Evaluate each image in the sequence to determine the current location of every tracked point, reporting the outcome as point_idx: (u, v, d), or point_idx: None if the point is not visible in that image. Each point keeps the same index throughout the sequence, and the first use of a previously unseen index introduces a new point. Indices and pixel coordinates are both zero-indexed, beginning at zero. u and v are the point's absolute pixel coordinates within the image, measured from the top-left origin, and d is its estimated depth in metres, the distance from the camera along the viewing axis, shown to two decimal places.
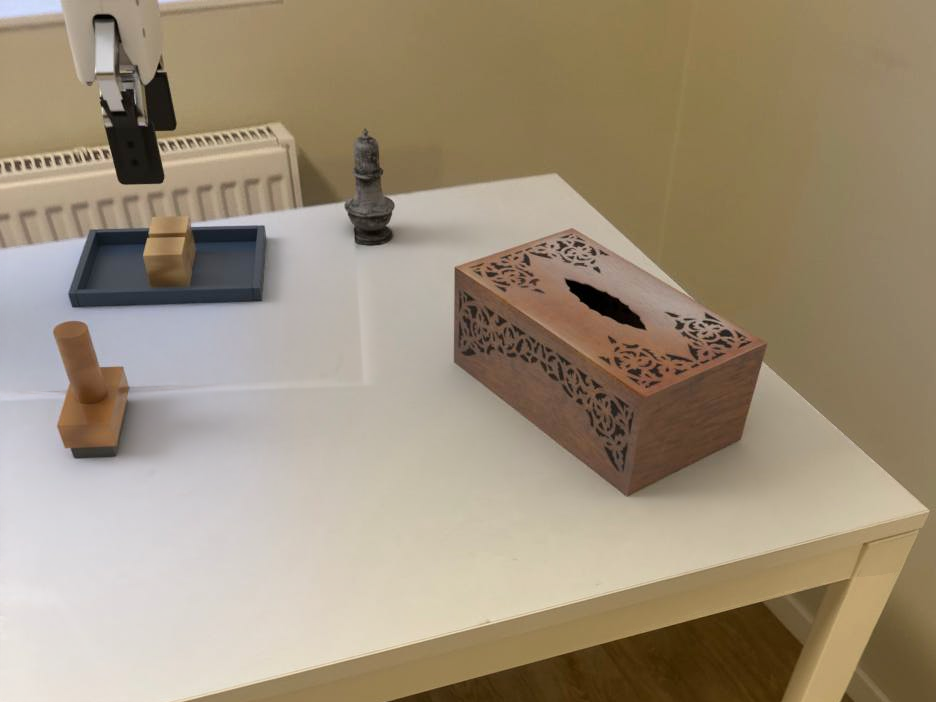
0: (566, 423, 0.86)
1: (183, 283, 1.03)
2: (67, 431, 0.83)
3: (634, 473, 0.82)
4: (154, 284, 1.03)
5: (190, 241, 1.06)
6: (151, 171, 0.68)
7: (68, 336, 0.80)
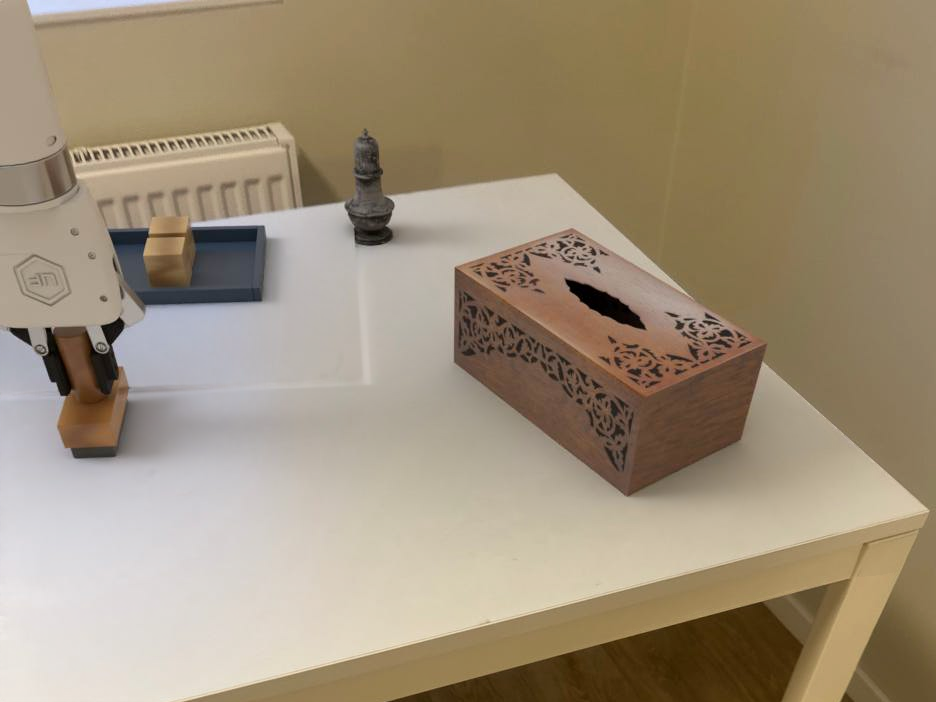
0: (566, 423, 0.86)
1: (183, 283, 1.03)
2: (67, 431, 0.83)
3: (634, 473, 0.82)
4: (154, 284, 1.03)
5: (190, 241, 1.06)
6: None
7: (67, 336, 0.80)
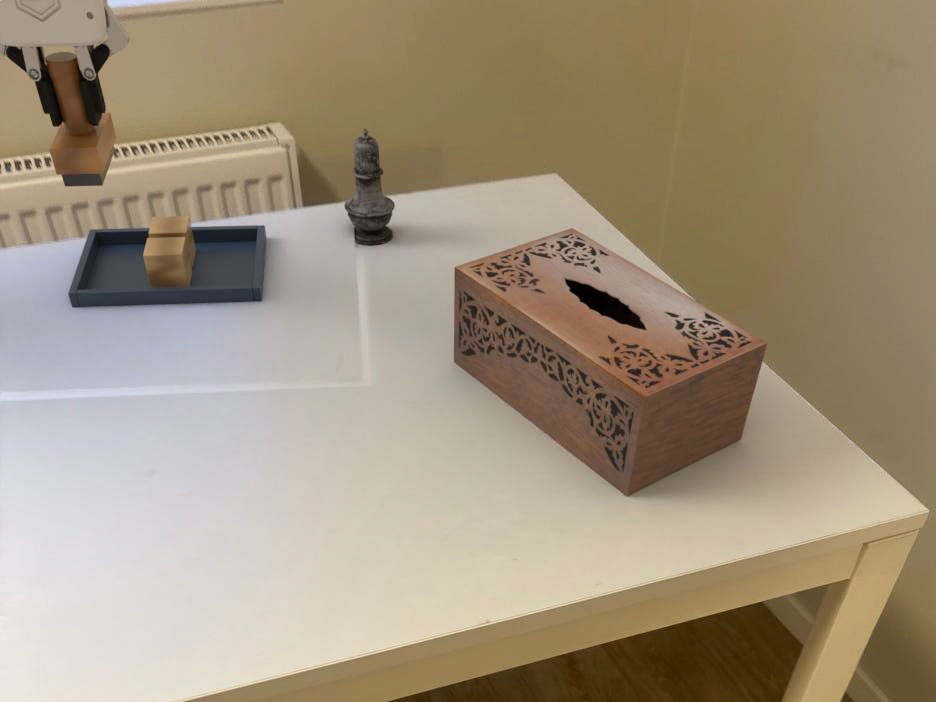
0: (566, 423, 0.86)
1: (183, 283, 1.03)
2: (58, 155, 0.92)
3: (634, 473, 0.82)
4: (154, 284, 1.03)
5: (190, 241, 1.06)
6: None
7: (58, 61, 0.89)
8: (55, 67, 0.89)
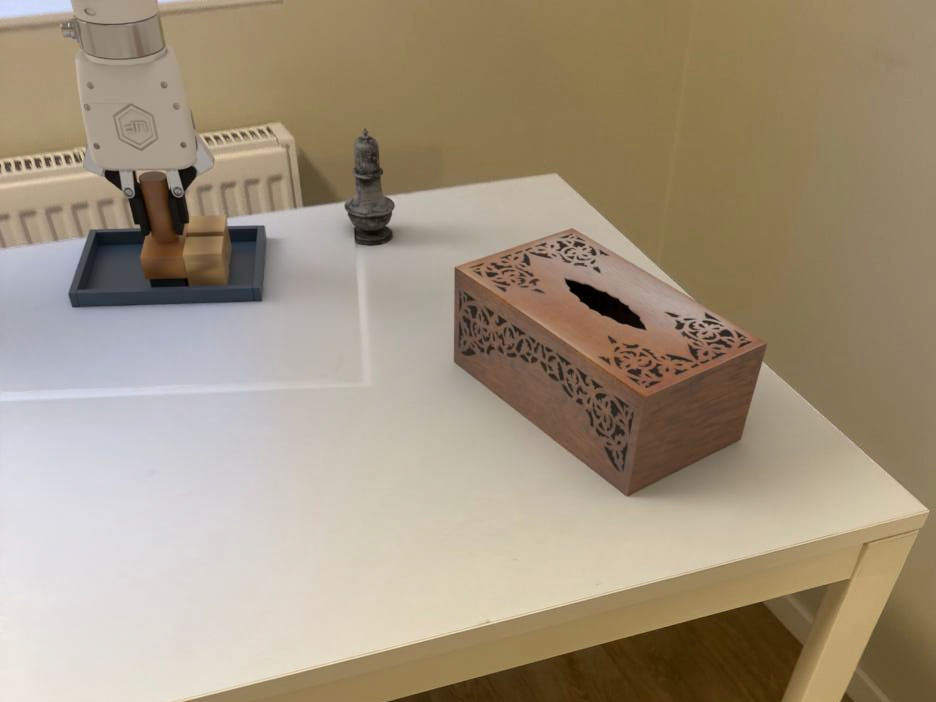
0: (566, 423, 0.86)
1: (221, 282, 1.03)
2: (148, 263, 1.01)
3: (634, 473, 0.82)
4: (192, 283, 1.03)
5: (227, 240, 1.07)
6: None
7: (151, 181, 0.98)
8: (148, 186, 0.98)
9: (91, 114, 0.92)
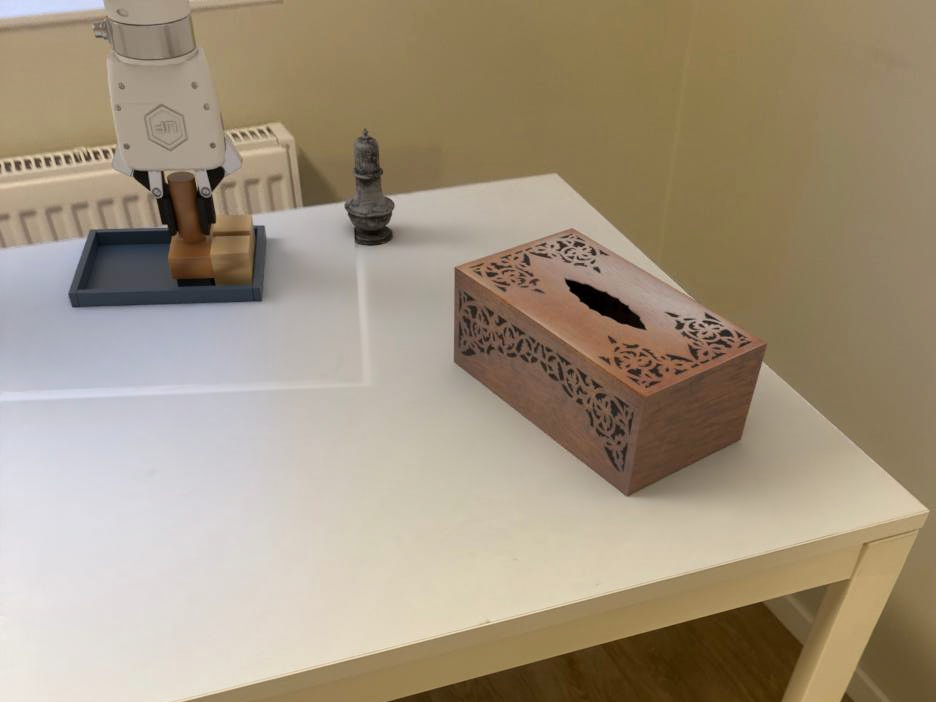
0: (566, 423, 0.86)
1: (248, 282, 1.04)
2: (176, 263, 1.01)
3: (634, 473, 0.82)
4: (219, 282, 1.03)
5: (253, 239, 1.07)
6: None
7: (179, 181, 0.99)
8: (176, 186, 0.99)
9: (122, 114, 0.92)
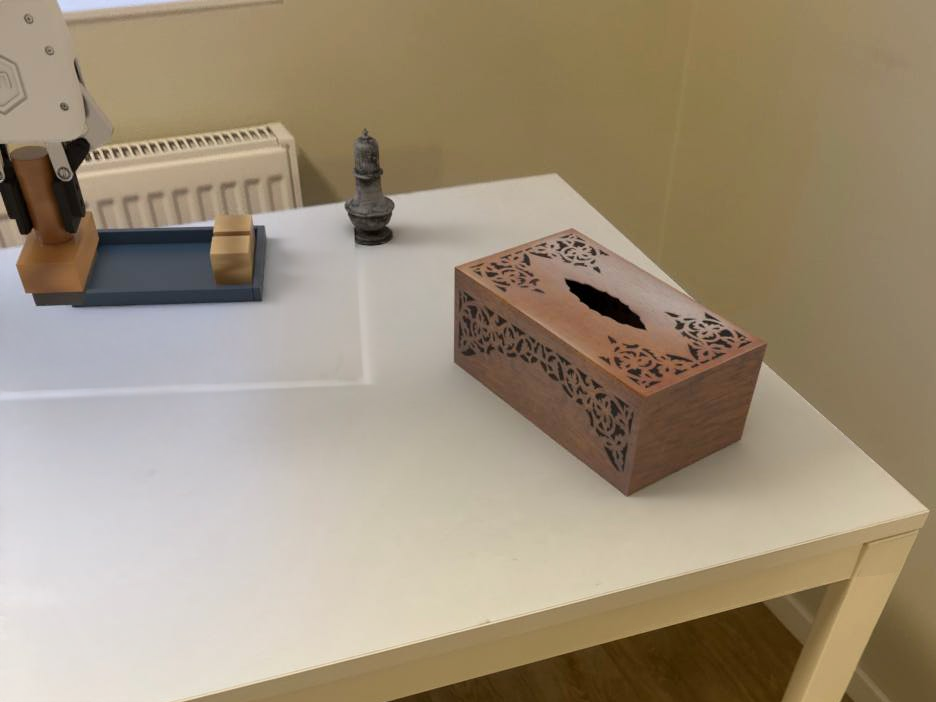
0: (566, 423, 0.86)
1: (248, 282, 1.04)
2: (27, 271, 0.74)
3: (634, 473, 0.82)
4: (219, 282, 1.03)
5: (253, 239, 1.07)
6: None
7: (26, 159, 0.71)
8: (22, 166, 0.71)
9: None
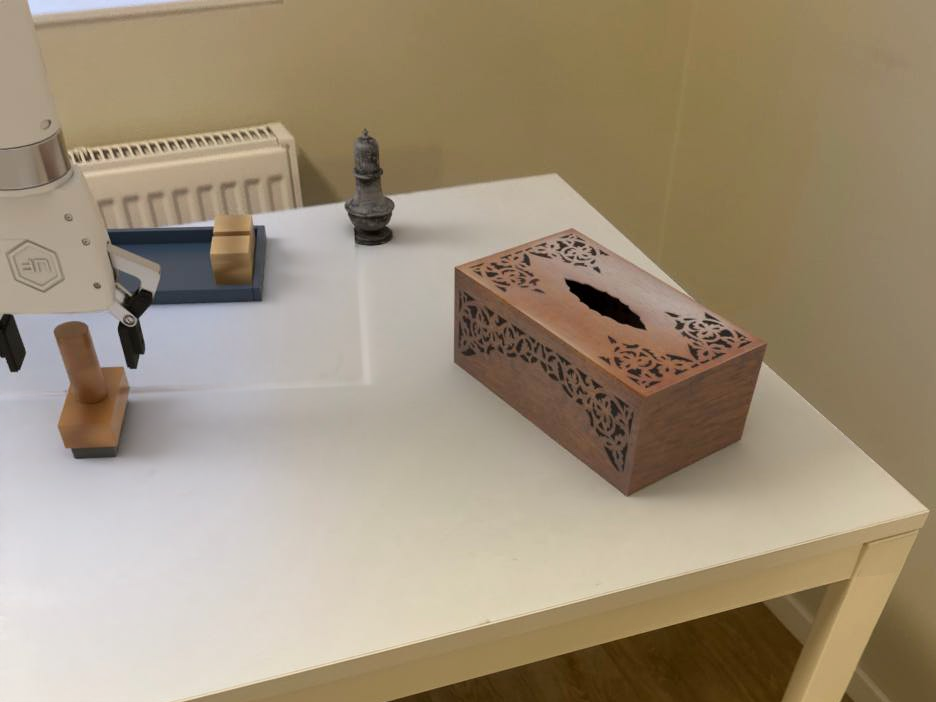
0: (566, 423, 0.86)
1: (248, 282, 1.04)
2: (68, 431, 0.83)
3: (634, 473, 0.82)
4: (219, 282, 1.03)
5: (253, 239, 1.07)
6: None
7: (68, 336, 0.80)
8: (64, 343, 0.80)
9: None
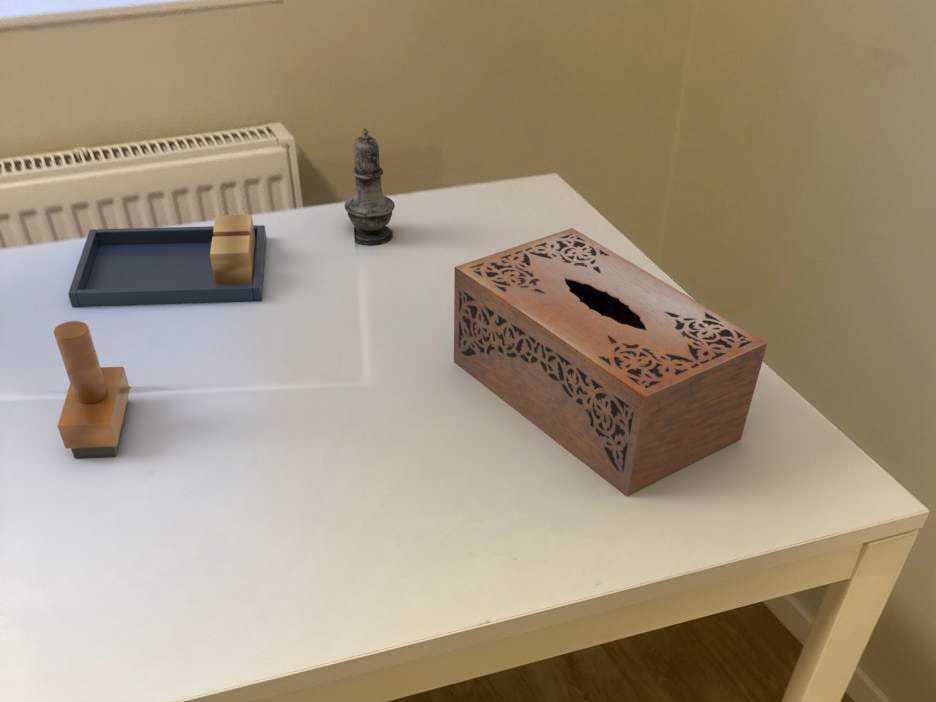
0: (566, 423, 0.86)
1: (248, 282, 1.04)
2: (68, 431, 0.83)
3: (634, 473, 0.82)
4: (219, 282, 1.03)
5: (253, 239, 1.07)
6: None
7: (68, 336, 0.80)
8: (64, 343, 0.80)
9: None
